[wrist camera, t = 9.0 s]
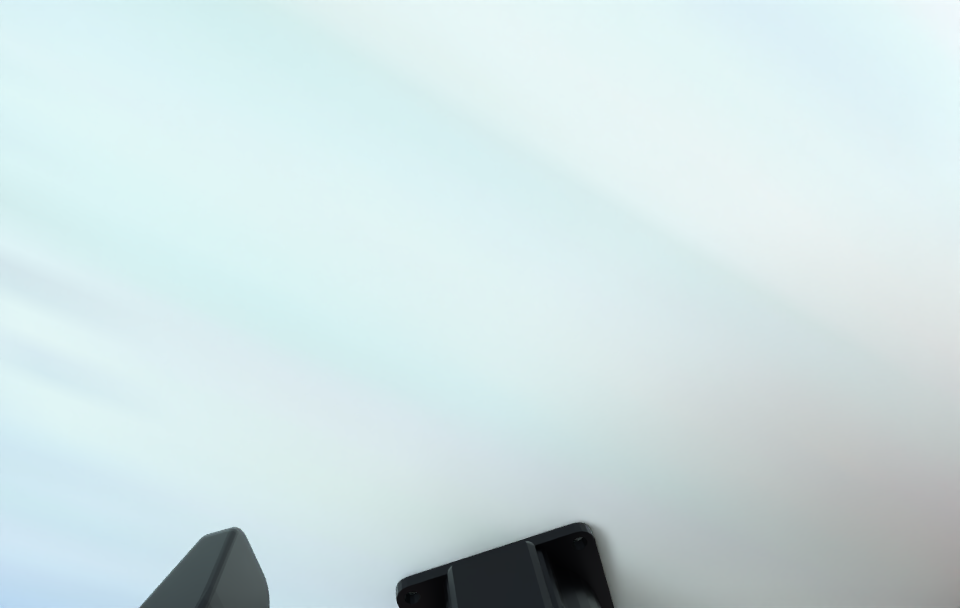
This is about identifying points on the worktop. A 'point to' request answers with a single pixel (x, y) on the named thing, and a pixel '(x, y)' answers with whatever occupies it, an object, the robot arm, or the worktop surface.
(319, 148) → the worktop surface
